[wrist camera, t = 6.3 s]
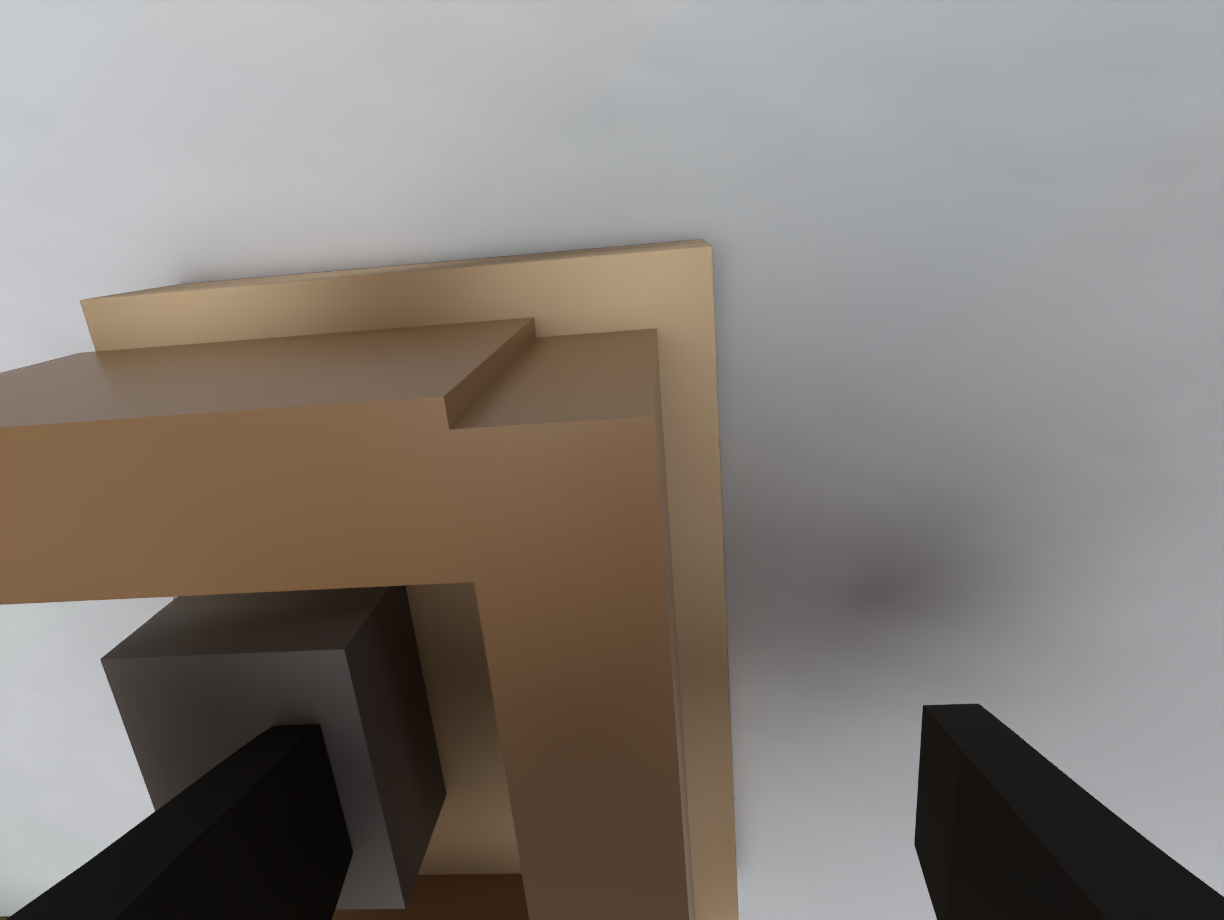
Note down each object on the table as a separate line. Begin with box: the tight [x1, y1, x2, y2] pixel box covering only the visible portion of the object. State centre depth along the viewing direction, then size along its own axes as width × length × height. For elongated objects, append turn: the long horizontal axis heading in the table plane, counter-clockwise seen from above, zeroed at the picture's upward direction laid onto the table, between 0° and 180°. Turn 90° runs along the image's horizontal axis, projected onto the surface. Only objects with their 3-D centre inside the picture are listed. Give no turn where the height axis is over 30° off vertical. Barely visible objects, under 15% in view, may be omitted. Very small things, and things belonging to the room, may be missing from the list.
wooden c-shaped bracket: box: [0, 317, 695, 920], centre depth 9 cm, size 8×10×4 cm
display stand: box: [80, 239, 738, 920], centre depth 11 cm, size 8×12×4 cm, turn 5°
